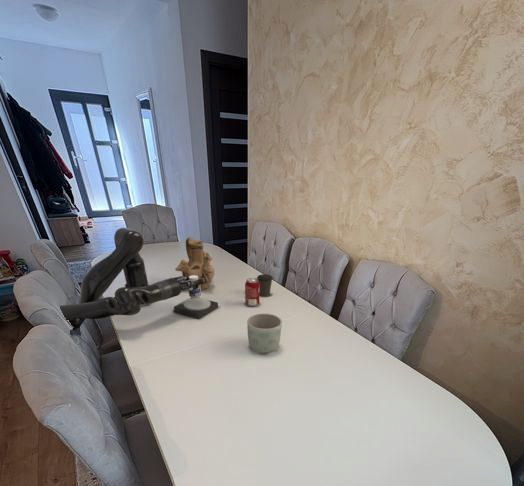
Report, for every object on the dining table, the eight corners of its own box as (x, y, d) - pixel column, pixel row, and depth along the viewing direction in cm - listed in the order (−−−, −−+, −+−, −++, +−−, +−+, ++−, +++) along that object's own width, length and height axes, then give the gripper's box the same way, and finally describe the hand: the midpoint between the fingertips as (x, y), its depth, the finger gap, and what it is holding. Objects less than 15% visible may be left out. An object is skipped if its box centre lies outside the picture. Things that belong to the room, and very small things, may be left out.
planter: (242, 341, 118) (242, 316, 112) (271, 336, 122) (273, 311, 116) (254, 358, 108) (255, 331, 102) (285, 351, 112) (288, 325, 107)
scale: (174, 311, 138) (173, 305, 136) (194, 300, 149) (193, 294, 147) (199, 319, 133) (198, 312, 131) (218, 307, 143) (217, 300, 141)
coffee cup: (253, 294, 157) (253, 275, 152) (263, 290, 162) (264, 271, 157) (264, 298, 153) (265, 279, 147) (275, 294, 158) (276, 275, 152)
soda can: (257, 307, 144) (258, 283, 137) (243, 306, 145) (243, 281, 138) (260, 302, 149) (261, 278, 143) (247, 300, 150) (247, 276, 144)
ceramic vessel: (177, 293, 156) (171, 242, 142) (186, 280, 172) (181, 233, 158) (213, 294, 156) (210, 244, 142) (218, 281, 172) (216, 235, 158)
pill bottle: (190, 293, 139) (187, 274, 134) (201, 293, 140) (200, 274, 135) (188, 298, 135) (186, 278, 130) (200, 298, 135) (199, 278, 130)
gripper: (157, 293, 130) (189, 283, 141) (177, 303, 122) (210, 291, 133) (154, 276, 126) (187, 267, 137) (175, 285, 118) (208, 274, 129)
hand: (198, 279), depth 135 cm, fingers closed on pill bottle, 5 cm apart
